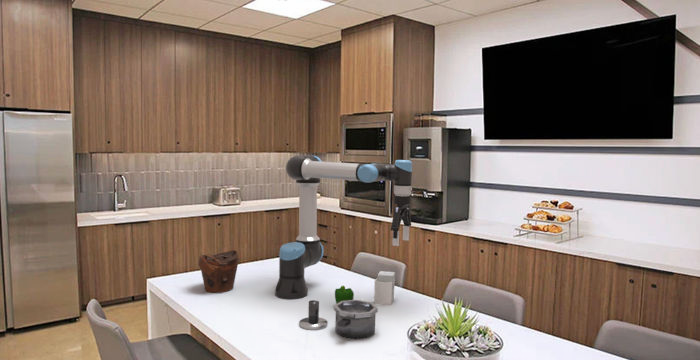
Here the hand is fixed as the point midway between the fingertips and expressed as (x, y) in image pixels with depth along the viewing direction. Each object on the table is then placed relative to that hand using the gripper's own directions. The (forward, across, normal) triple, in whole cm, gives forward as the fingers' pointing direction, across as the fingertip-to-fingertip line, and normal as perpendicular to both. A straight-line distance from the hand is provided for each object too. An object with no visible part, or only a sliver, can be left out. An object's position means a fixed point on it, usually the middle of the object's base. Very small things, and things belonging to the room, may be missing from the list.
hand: (400, 242), depth 211 cm
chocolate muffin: (+28, -22, +83) cm, 90 cm away
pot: (+28, -38, +4) cm, 47 cm away
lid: (+28, -40, +21) cm, 53 cm away
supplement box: (+28, +1, +7) cm, 29 cm away
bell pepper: (+28, -16, +20) cm, 38 cm away
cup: (+28, +1, +6) cm, 29 cm away
